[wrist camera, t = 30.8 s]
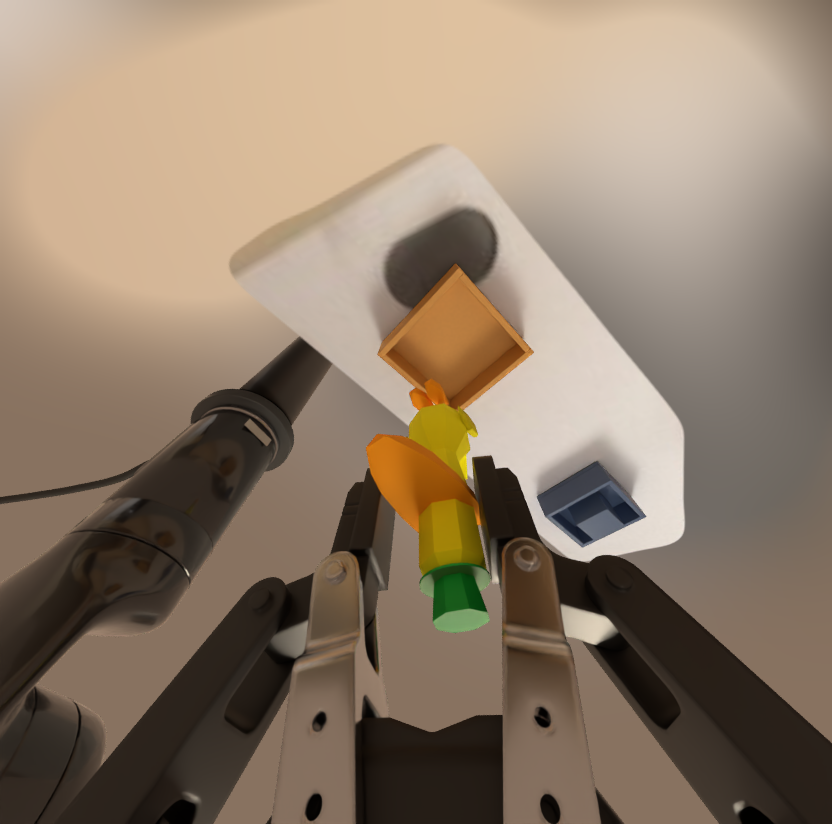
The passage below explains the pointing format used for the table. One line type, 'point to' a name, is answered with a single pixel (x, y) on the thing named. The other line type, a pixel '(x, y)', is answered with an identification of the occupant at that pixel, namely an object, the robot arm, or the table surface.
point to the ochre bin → (454, 341)
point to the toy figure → (437, 505)
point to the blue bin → (580, 488)
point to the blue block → (595, 515)
